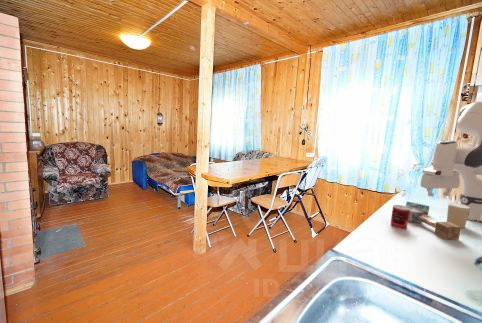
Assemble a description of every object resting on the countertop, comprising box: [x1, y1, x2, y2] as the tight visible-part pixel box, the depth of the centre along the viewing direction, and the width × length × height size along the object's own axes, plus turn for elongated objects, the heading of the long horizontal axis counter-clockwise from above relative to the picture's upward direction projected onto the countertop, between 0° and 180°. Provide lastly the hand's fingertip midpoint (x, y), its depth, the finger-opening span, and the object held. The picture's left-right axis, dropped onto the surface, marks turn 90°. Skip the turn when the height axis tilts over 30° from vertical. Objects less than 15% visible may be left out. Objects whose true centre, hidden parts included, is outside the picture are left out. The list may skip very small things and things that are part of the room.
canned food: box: [390, 204, 410, 230], centre depth 127 cm, size 8×8×11 cm
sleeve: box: [408, 209, 424, 224], centre depth 136 cm, size 7×6×6 cm
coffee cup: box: [446, 202, 470, 229], centre depth 131 cm, size 9×9×12 cm
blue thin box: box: [405, 200, 430, 216], centre depth 151 cm, size 12×2×6 cm, turn 45°
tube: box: [418, 215, 437, 228], centre depth 123 cm, size 4×16×4 cm, turn 6°
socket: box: [434, 221, 462, 241], centre depth 116 cm, size 7×6×7 cm
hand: (438, 195), depth 124 cm, fingers open, 8 cm apart
